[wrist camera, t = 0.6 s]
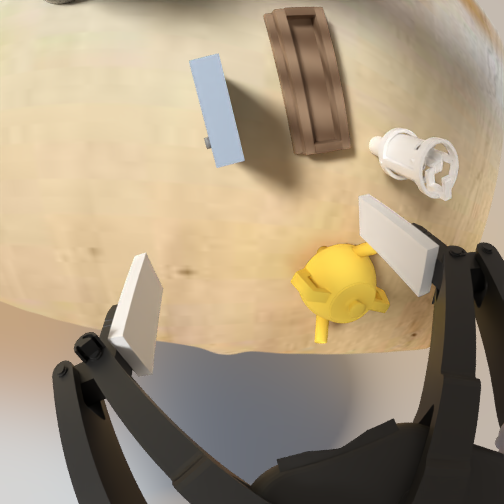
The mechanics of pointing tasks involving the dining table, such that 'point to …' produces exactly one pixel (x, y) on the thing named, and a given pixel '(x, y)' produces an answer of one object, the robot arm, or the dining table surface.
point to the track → (308, 79)
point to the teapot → (340, 286)
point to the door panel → (217, 110)
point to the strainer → (416, 160)
